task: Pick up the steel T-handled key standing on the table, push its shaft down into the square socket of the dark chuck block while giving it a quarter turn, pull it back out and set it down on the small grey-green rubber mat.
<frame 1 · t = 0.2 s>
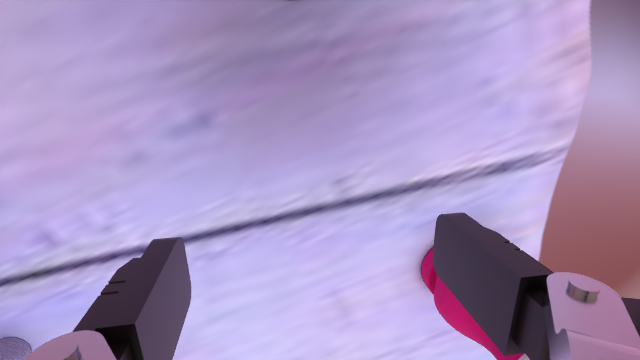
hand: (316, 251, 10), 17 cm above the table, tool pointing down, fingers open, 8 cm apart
chuck key: (13, 349, 29), on the table
pepper mill: (448, 263, 34), on the table
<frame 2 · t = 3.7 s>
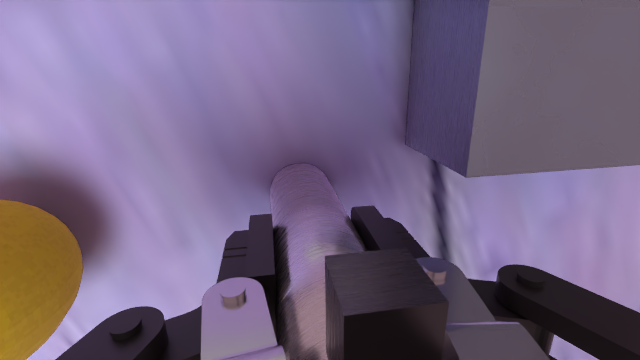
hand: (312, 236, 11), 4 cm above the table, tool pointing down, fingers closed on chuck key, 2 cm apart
lemon: (48, 230, 14), on the table
chuck key: (300, 192, 15), on the table, touching gripper
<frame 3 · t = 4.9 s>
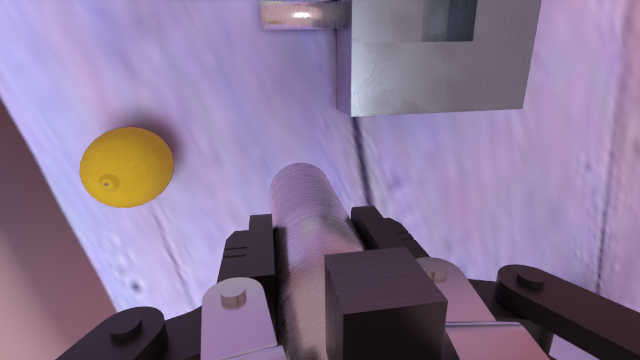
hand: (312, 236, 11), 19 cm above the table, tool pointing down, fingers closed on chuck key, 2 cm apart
chuck block: (418, 20, 28), on the table
lemon: (149, 152, 28), on the table
chuck key: (300, 191, 15), point 14 cm above the table, touching gripper
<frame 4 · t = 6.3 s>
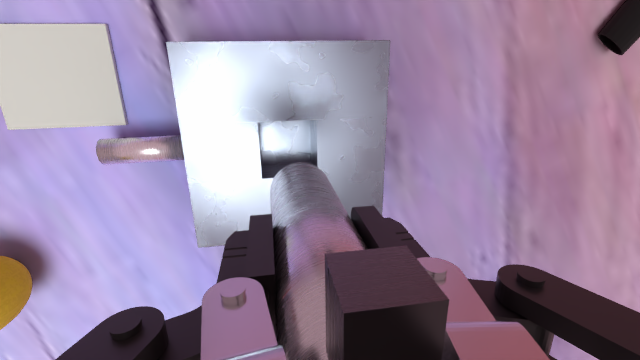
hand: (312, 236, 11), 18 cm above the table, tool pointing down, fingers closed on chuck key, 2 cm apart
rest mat: (58, 77, 24), on the table
chuck block: (284, 135, 28), on the table
lemon: (17, 265, 28), on the table
chuck key: (300, 191, 15), point 13 cm above the table, touching gripper
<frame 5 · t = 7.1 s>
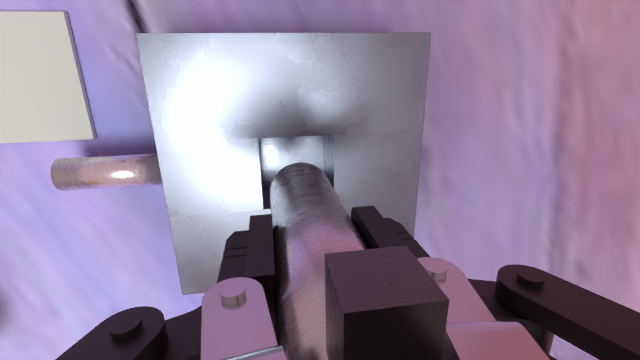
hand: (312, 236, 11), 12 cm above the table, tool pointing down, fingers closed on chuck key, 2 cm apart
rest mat: (6, 80, 19), on the table
chuck block: (291, 151, 23), on the table
chuck key: (300, 191, 15), point 8 cm above the table, touching gripper
when the fingers open (5 cm above the table, at t = 14.8 s): chuck key stays where it is, resting on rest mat.
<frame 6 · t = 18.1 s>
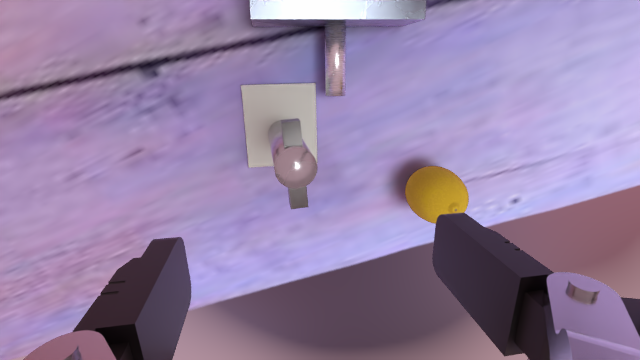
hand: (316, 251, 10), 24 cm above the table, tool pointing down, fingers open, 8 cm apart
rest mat: (281, 125, 33), on the table
lemon: (417, 181, 38), on the table
chuck key: (282, 134, 33), resting on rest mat
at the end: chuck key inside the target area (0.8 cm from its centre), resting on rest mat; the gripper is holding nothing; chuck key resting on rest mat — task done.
